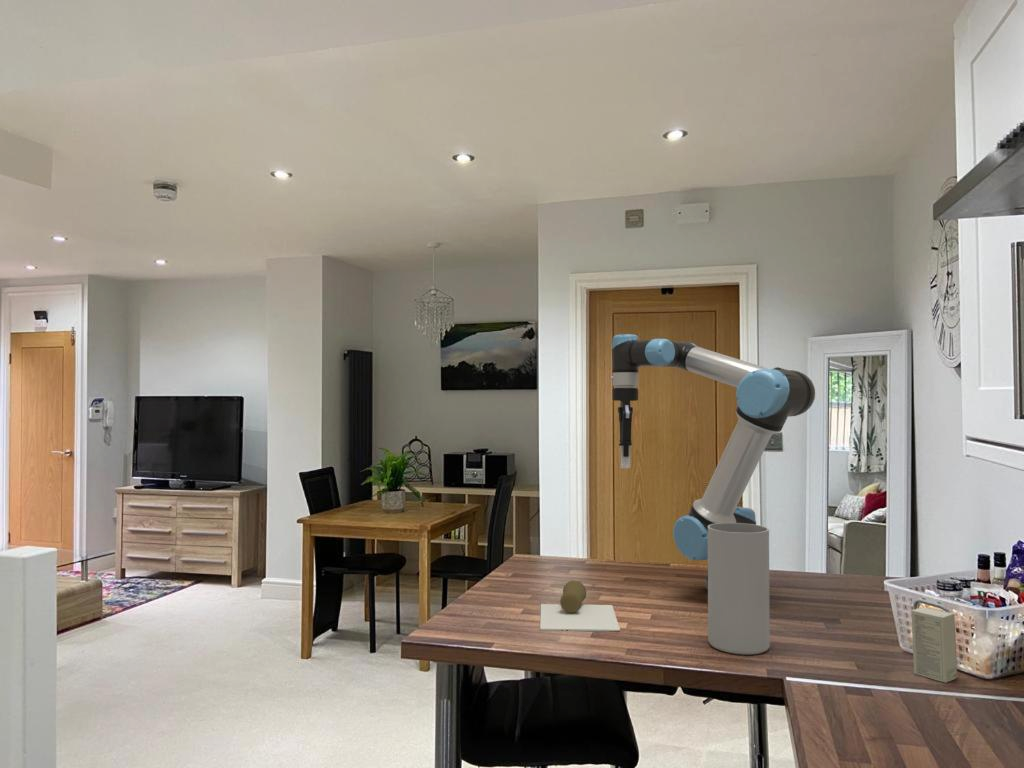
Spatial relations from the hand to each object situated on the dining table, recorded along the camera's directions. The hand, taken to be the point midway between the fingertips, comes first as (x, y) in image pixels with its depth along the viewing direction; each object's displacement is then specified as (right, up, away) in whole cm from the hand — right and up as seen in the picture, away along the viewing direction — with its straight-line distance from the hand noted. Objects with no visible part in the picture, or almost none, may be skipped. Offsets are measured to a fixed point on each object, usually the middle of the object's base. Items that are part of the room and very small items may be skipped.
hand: (625, 467), depth 214 cm
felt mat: (-17, -32, -39) cm, 53 cm away
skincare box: (+47, -31, -76) cm, 94 cm away
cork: (-17, -29, -27) cm, 43 cm away
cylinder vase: (+15, -31, -59) cm, 68 cm away
